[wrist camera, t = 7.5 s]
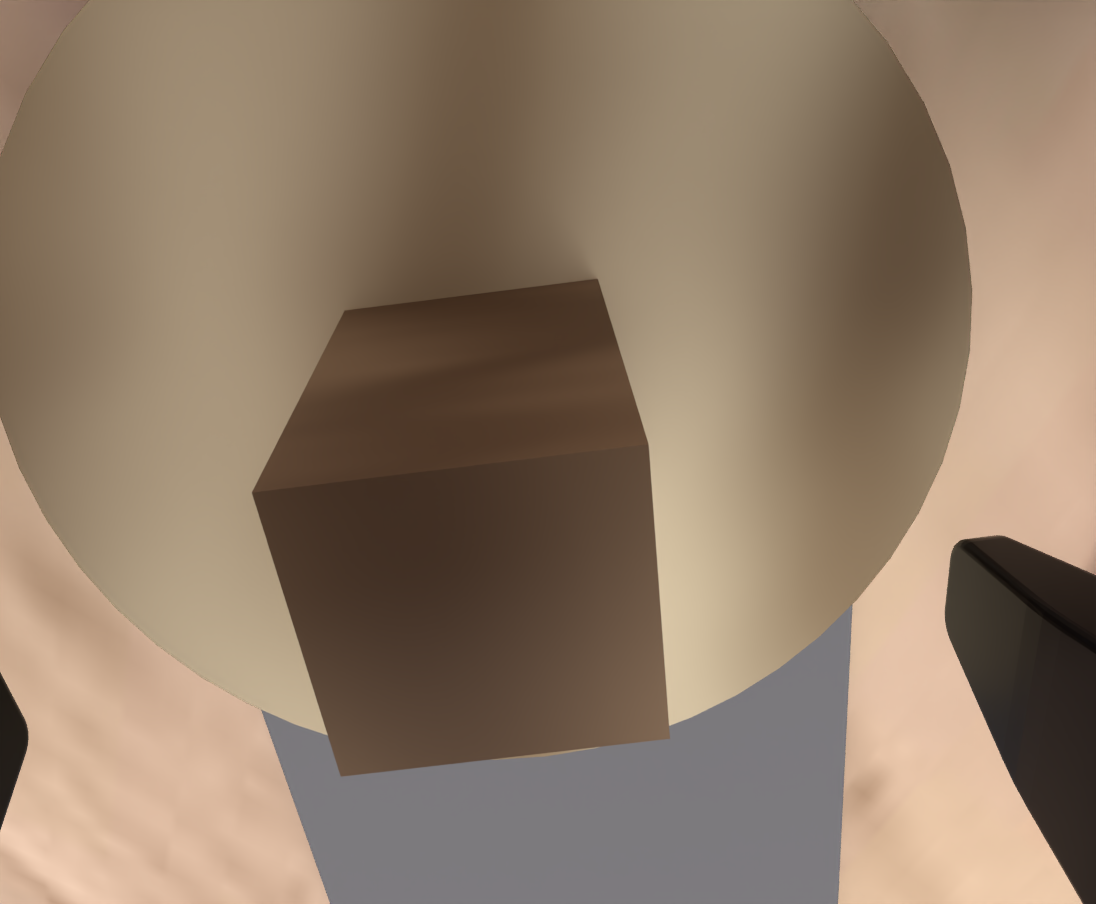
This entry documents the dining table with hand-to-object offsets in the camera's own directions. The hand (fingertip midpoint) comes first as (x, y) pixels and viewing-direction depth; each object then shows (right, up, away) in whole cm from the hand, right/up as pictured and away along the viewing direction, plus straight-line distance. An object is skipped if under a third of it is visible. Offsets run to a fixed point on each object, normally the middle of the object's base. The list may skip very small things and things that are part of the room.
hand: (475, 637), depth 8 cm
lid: (0, +3, +6) cm, 6 cm away
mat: (+1, -8, +18) cm, 19 cm away
